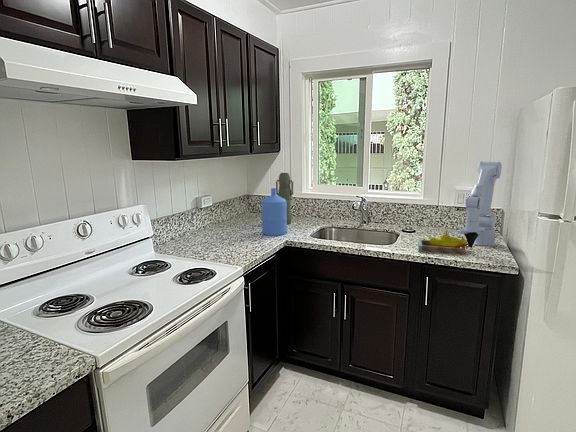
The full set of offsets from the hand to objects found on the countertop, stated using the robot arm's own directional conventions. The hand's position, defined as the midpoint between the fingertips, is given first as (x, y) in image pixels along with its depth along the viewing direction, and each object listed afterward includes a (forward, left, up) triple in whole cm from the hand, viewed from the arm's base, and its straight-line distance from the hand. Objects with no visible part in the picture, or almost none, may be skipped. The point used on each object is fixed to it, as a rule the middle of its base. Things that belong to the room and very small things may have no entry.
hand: (470, 247), depth 176 cm
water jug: (+109, -10, -3) cm, 109 cm away
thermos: (+111, -36, -3) cm, 116 cm away
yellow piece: (+10, -2, -3) cm, 10 cm away
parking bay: (+13, -1, -3) cm, 13 cm away
